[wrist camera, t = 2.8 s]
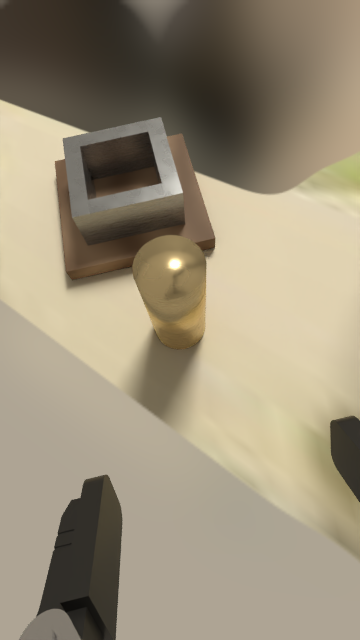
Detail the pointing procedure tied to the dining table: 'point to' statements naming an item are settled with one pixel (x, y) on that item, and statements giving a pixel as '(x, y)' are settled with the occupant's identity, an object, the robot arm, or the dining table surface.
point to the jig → (126, 196)
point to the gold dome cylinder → (173, 288)
